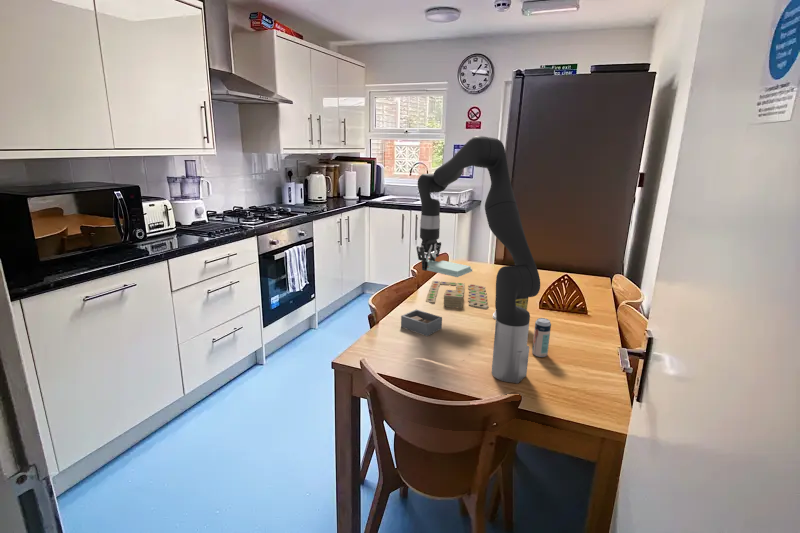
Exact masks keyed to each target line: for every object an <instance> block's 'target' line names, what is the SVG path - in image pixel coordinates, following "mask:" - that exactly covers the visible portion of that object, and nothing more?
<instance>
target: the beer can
mask: <svg viewBox="0 0 800 533" xmlns="http://www.w3.org/2000/svg"><path fill="white" fill-rule="evenodd" d="M534 323H535V324H534V330H533V332H534V333H533V338H532V340H533V342H532V351H531V353H532V355H534V356H535V357H537V358H538V357H539V358H544V357H548V355H549V354H548V353H549V345H550V336H551V328H552V323H551V321H550V320H549V319H548V318H545V317H544V318H543V317H540V318H539V317H538V318H537V319H536V320H535V322H534Z"/></svg>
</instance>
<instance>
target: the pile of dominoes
mask: <svg viewBox="0 0 800 533" xmlns="http://www.w3.org/2000/svg"><path fill="white" fill-rule="evenodd" d="M449 285H451V286H453V287H454V286H455V290H454V289H445V292H444V295H443V307H444V306H446V307H445V308H454V307H458V308H457V309H463V308H462V307H463V305H464V297H465V290H466V289H465V283H463V282H452V281H451V282H450V281H439V280H433V281H431V285H430V288H428V293H427V296H426V299H425V302H426V303H429V304H431V303H434V304H435V303H436V299H437V296H438V292H439V288H440V286H449ZM467 290H468V298H467V299H468V300H467V302H469V303H468V307H472V308H476V309H480V310H487V309H488V308H489V305H488V295H487V292H486V291H487V290H486V286H482V285H478V284H472V283H471V284H468V286H467ZM469 299H470V300H469Z"/></svg>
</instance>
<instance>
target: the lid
mask: <svg viewBox="0 0 800 533" xmlns="http://www.w3.org/2000/svg"><path fill="white" fill-rule="evenodd" d="M427 262H428V268H427V271H429V272H433V273H438V274H442V275H447V276H450V277H455V278H459V277H462V276H464V275H466V274H469V273H472V272H473V268H472V266H470V265H467V264H462V263H457V262H452V261H446V260H440V261H436V260H435V261H433V260H429V259H428V261H427Z"/></svg>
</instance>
